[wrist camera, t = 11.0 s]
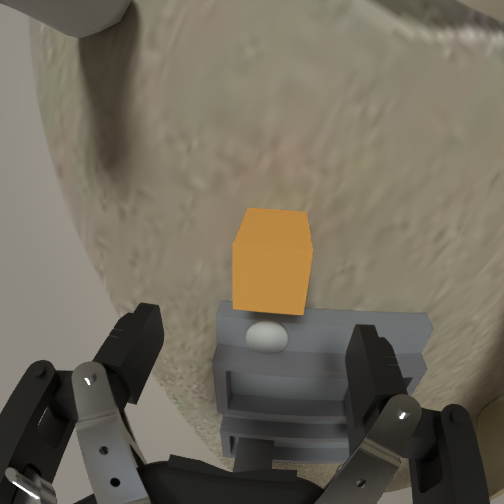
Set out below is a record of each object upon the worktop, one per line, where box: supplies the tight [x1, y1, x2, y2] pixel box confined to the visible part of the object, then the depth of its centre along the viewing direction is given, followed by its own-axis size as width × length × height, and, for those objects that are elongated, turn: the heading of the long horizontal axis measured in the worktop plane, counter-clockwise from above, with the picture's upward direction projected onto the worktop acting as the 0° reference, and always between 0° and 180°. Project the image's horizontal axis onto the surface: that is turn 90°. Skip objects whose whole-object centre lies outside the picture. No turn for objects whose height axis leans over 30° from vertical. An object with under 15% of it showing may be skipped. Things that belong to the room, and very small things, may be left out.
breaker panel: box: [213, 301, 434, 464], centre depth 27 cm, size 18×26×4 cm
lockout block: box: [233, 208, 313, 315], centre depth 18 cm, size 4×4×6 cm
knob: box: [344, 386, 365, 456], centre depth 21 cm, size 4×4×7 cm
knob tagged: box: [233, 437, 274, 472], centre depth 27 cm, size 4×4×7 cm
